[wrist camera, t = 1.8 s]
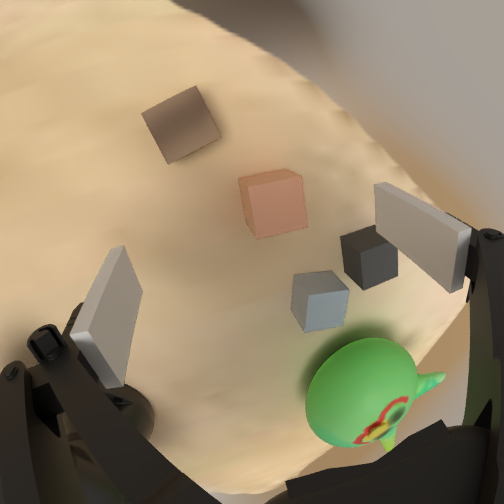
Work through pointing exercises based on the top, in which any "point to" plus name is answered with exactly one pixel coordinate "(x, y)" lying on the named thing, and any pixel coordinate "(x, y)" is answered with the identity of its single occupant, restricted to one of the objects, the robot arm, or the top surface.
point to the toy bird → (365, 393)
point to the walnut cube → (181, 124)
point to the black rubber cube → (368, 257)
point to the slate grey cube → (319, 300)
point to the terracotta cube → (273, 202)
